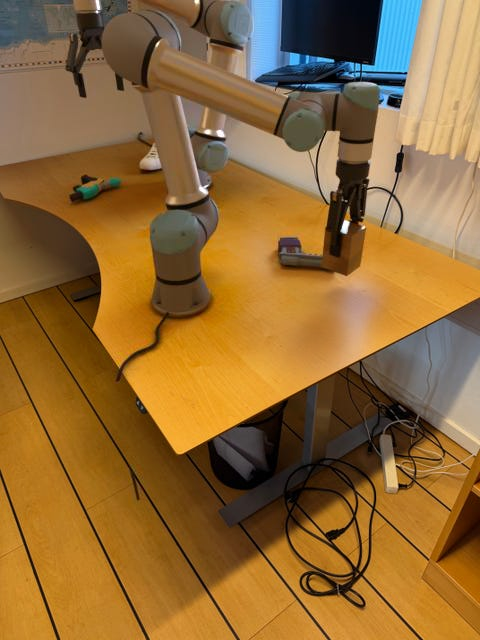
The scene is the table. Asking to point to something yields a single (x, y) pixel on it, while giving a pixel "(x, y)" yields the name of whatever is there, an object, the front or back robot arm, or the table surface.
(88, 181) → the toy gun
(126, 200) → the table surface
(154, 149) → the sneaker
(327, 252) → the block
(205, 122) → the back robot arm
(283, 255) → the toy gun
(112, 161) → the table surface
